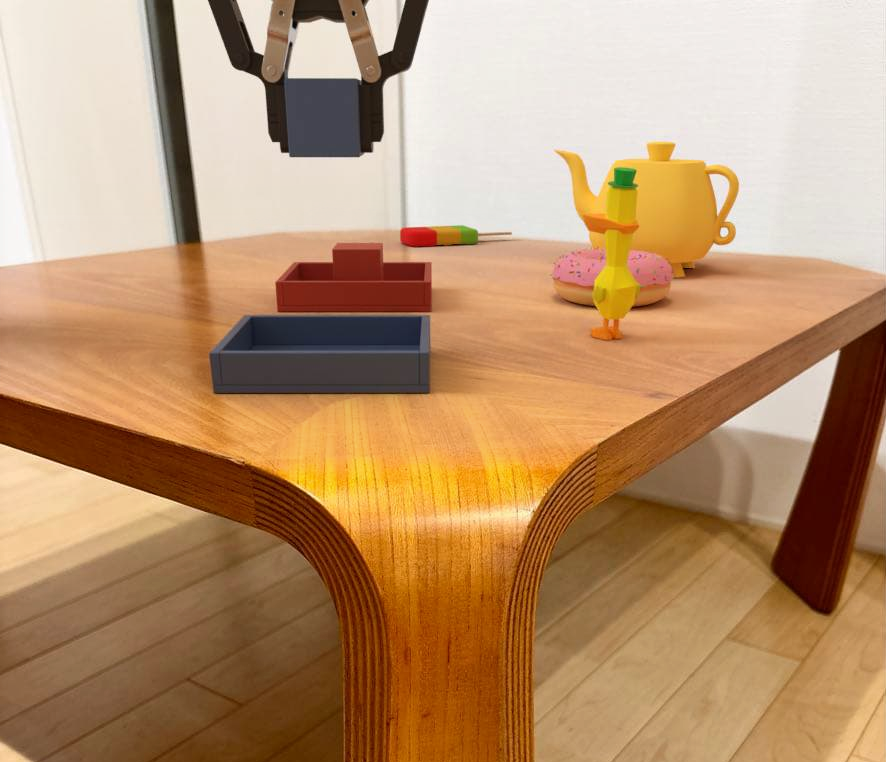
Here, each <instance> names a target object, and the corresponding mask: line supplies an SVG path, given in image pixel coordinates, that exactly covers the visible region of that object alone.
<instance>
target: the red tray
mask: <svg viewBox="0 0 886 762" xmlns="http://www.w3.org/2000/svg"><path fill="white" fill-rule="evenodd" d="M432 264H433V263H432V261H383V270H384V281H334V276H333V261H294V262H292V264H291V265H290V266H289V267H288V268H287V269H286V270H285V271H284V272H283V273H282V274H281V276H279V277H278V279H277V280H275V282H274V283H275V296H276V298H275V299H276V311H277V312H280V313H281V312H282V313H283V312H284V313H285V312H287V313H289V312H291V313H294V312H296V313H297V312H298V313H299V312H301V313H302V312H307V313H308V312H309V313H310V312H313V313H315V312H316V313H317V312H319V313H320V312H321V313H323V312H337V313H339V312H344V313H346V312H353V313H354V312H355V313H357V312H359V313H360V312H362V313H363V312H366V313H367V312H368V313H369V312H377V313H378V312H381V313H383V312H385V313H386V312H388V313H389V312H390V313H391V312H406V313H407V312H409V313H410V312H412V313H413V312H415V313H416V312H417V313H419V312H423V313H424V312H427V313H428V312H432V298H433V297H432V292H433V287H432V286H433V280H432V279H433V276H432V275H433V272H432V271H433V269H432Z"/></svg>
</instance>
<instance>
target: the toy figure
mask: <svg viewBox="0 0 886 762" xmlns="http://www.w3.org/2000/svg"><path fill="white" fill-rule="evenodd" d="M636 172H637V170H635V169H632V168H623V167H618V168H614V181H611V182H608V185H611V186H610V188H609V189H608V190H607V202H606V214H587V215H583V217H584V222H583V223H584V225H585V227H586V229H587V230H588V232H589V231H592V232H596V233H601V234H605V245H606V266H605V267H604V269H603V270H602V271H601V273H600V274H599V275H598V276H597V278H596V279H595V283H594V291H593V293H592V297H591V298H593V301H594V303H595V305H596V306H595V308H596V309H597V311H598V312H599V315H600V316H601V318H602V319H603V320H602V326H601V327H593V328H591V329H590V336H591V337H593V338H596V339H601V340H605V341H609V340H612V339H615V340H617V339H622V338H623V334H622V333H621V331H620V328H619V327H620V320H622V319H624V318H625V317H626V316H627V314H628V313H629V312H630V310H631V309H632V306H633V305H634V302H635V298H637V297H638V296H639V291H640V286H641V285H640V284H639V283H637V282H636V281H635V279H634V278H633V276H632V274H631V272H630V271H629V269H628V267H627V262H628V257H629V252H630V247H631V242H632V237H633V233H634V232H635V231H636V230H637V229H638V228H639V224H638V222H637V221H636V219H635V217H636V205H637V193H638V190H637V189H636V187H638V184H635V183H633V181H634V178H635V175H636ZM610 320H613V323H612V324H613V325H612V326H611V325H610V323H609V322H610Z"/></svg>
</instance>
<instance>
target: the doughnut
mask: <svg viewBox="0 0 886 762" xmlns="http://www.w3.org/2000/svg"><path fill="white" fill-rule="evenodd" d="M598 248H599V247H597V249H596V248H595V249H593V247H590V249H588V248H585V249H582V250H581V249H580V250H577V249H576V250H573V251H571V252H568V253H566V254H563V255H562V256H559V257H558V258H559V259H558V260H557V261H556V262H553V263H552V264H553V265H554V266H553V269H552V272H551V274H550V275H549V276H550V277H551V279H553V283H552V284H553V288H554V291H555V292H556V293H557V295H559V296H560V297H561V298H562V299H564V300H566V301H568V302H571V303H574V304H577V305H578V304H579V305H584V306H591V307H596V305H595V303H594V301H593V298H591V297H592V293H593V291H594V283H595V279H596V278H597V276H598V275H599V274H600V273H601V271H602V270H603V269H604V267H605V266H606V249H600V248H599V249H598ZM667 259H668V258H667ZM667 259H664V258H663V257H661V256H659V255H657V254H656V252H655V254H654V253H650V252H649V251H648V252H644V251H635V250H630V252H629V257H628V262H627V267H628V269H629V271H630V272H631V274H632V276H633V278H634V279H635V281H636V282H637V283H639V284H640V285H641V286H640V291H639V296H638V297H637V298H635V302H634V305H633V306H632V307H633V308H634V307H641V306H647V305H651V304H655V303H657V302H659V301H660V300H662V299H664V298H665V297H666V296H667V295H668V293H669V292H670V290H671V288H672V283H671V282H673V280H674V278H675V277H674V276H675V275H673V273H674V272H673V271H674V270H672V268H671V267H672V266H670V262H668V261H667ZM632 307H631V308H632Z"/></svg>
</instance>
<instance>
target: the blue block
mask: <svg viewBox="0 0 886 762" xmlns="http://www.w3.org/2000/svg"><path fill="white" fill-rule="evenodd" d="M284 84H285V99H286V114H287V130H288V145H289V153H288V156H289V158H360V157H362V156H364V155H365V153H361V142H360V113H359V85H361V79H358V78H356V77H355V78H354V77H353V78H352V77H348V78H347V77H344V78H343V77H342V78H341V77H340V78H339V77H337V78H336V77H325V78H324V77H322V78H321V77H317V78H316V77H288V78H285V79H284Z"/></svg>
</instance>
